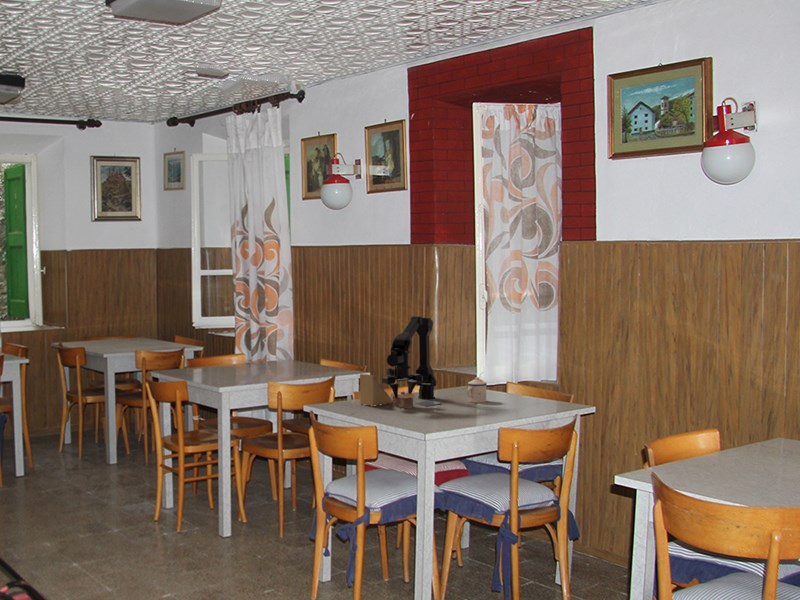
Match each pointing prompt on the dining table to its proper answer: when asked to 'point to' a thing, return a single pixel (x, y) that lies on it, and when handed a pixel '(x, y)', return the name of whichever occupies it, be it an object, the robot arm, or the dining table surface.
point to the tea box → (403, 402)
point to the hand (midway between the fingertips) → (402, 397)
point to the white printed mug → (476, 391)
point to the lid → (404, 395)
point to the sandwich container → (372, 391)
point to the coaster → (428, 403)
